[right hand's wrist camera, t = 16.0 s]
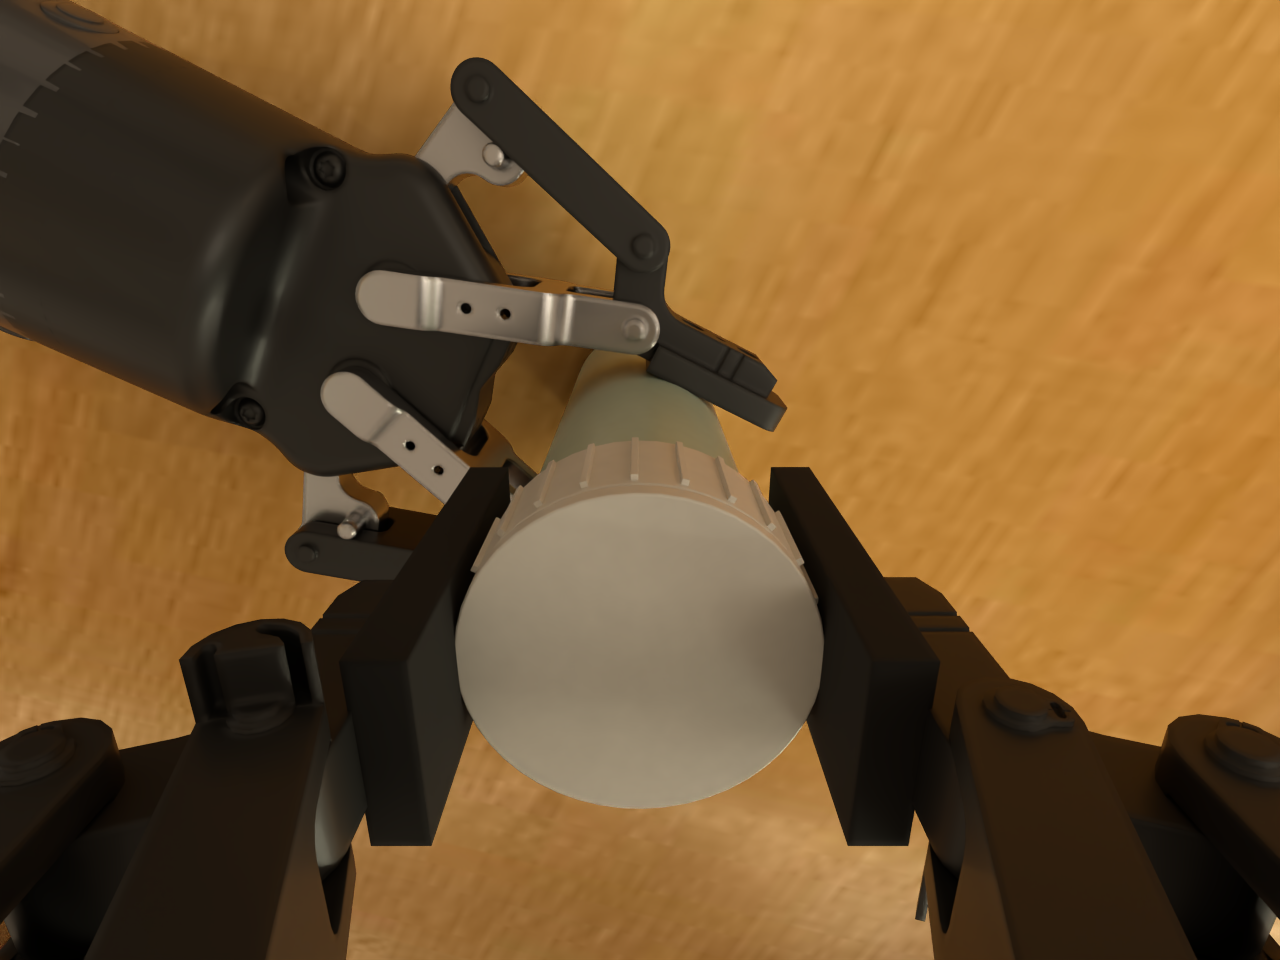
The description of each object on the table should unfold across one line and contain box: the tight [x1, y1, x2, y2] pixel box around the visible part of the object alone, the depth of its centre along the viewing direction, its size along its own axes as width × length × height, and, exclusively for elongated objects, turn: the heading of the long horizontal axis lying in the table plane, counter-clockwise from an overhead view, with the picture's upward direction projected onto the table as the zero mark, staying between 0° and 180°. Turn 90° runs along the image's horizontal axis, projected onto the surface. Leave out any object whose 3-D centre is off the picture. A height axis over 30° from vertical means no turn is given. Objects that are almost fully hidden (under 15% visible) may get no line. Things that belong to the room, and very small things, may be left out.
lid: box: [455, 437, 824, 809], centre depth 11 cm, size 5×5×2 cm
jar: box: [540, 349, 739, 473], centre depth 18 cm, size 5×5×16 cm
